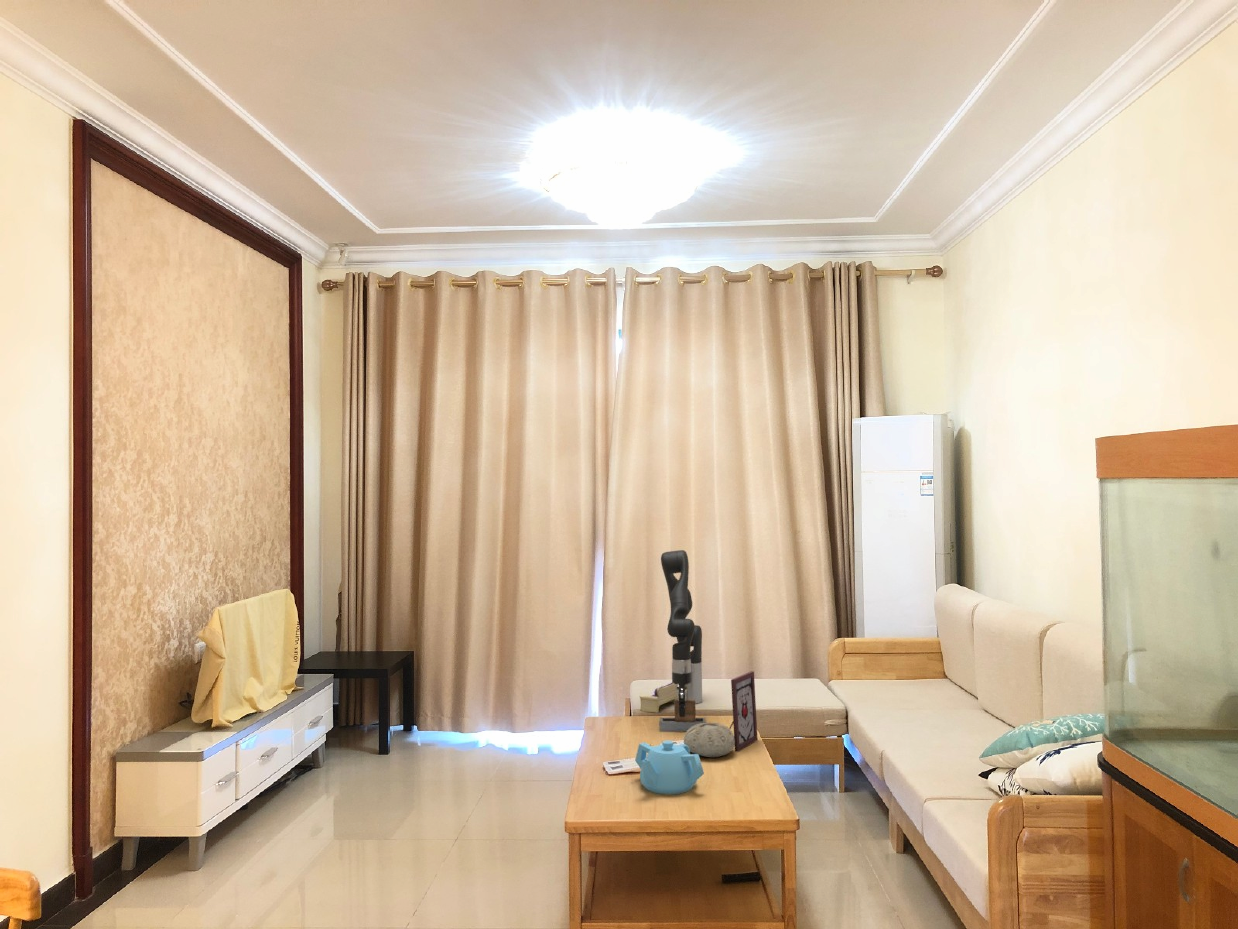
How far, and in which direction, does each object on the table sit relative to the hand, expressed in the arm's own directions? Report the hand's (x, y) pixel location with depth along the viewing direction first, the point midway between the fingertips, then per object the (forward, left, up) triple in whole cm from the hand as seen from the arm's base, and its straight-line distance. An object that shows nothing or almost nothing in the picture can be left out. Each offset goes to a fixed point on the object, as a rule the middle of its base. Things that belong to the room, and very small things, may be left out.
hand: (682, 715), depth 327 cm
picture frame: (+19, +19, -6) cm, 28 cm away
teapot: (+65, -5, -6) cm, 65 cm away
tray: (0, 0, -5) cm, 5 cm away
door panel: (0, +1, -4) cm, 4 cm away
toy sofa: (-35, -10, -6) cm, 36 cm away
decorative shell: (+31, +9, -6) cm, 33 cm away
